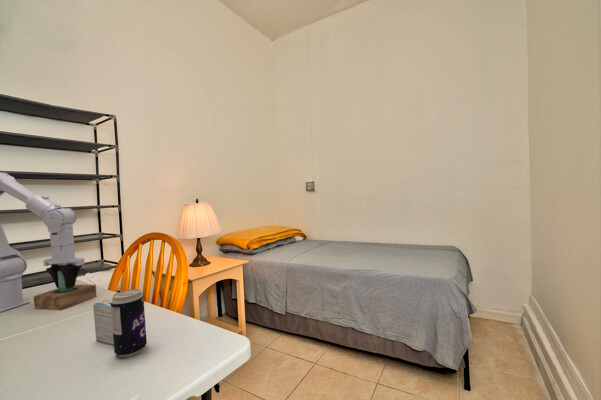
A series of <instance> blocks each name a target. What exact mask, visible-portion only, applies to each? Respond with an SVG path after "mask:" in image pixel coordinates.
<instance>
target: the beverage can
mask: <svg viewBox="0 0 601 400" xmlns="http://www.w3.org/2000/svg"><path fill="white" fill-rule="evenodd" d="M112 297H113V299H112V301H111V314H112V327H113V340H114V345H113V350H114V351H113V352H114V354H115V355H116V356H119V357H120V358H129V357H133V356H135V355H138V354H139V353H141V352H142V351H143V349H144V348H145V346H146V345H147V344H148V343H147V342H148V340H147V328H146V314H145V302H144V301H145V300H144V294H142V291H141V289H139V288H138V289H135V288H134V289H127V290H123V291H119V292H116V293H115V294H113V295H112Z"/></svg>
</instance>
